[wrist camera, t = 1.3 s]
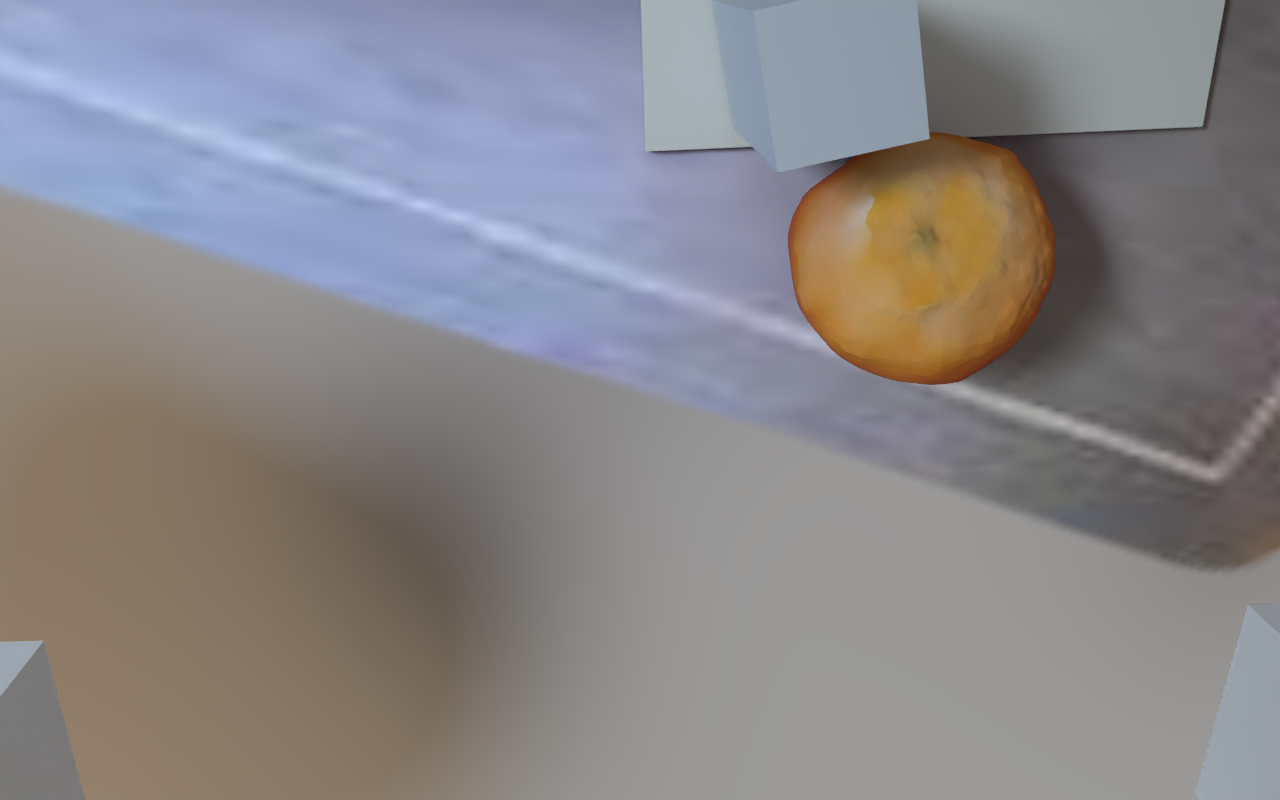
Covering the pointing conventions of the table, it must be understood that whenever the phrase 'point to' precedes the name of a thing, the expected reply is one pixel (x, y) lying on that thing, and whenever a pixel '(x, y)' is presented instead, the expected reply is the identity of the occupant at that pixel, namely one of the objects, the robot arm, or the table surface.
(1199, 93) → the felt mat
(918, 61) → the slate block
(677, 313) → the table surface
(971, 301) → the fruit
